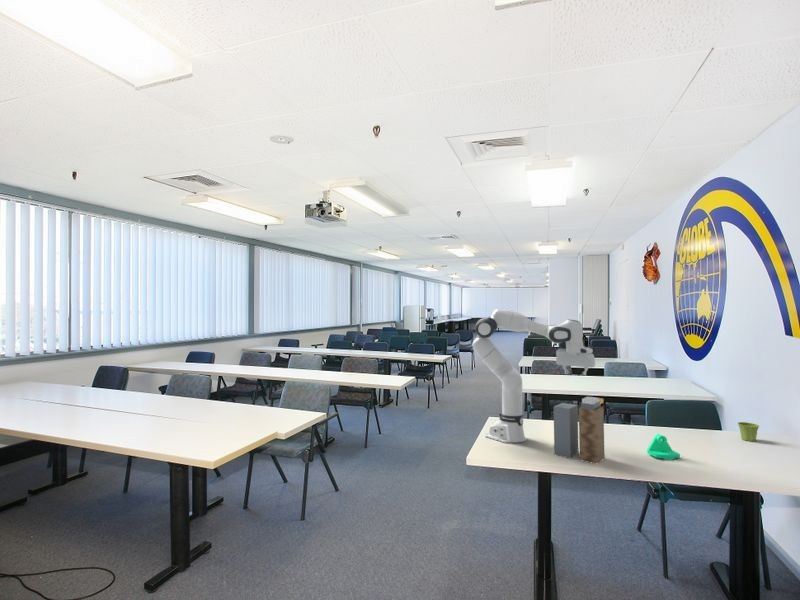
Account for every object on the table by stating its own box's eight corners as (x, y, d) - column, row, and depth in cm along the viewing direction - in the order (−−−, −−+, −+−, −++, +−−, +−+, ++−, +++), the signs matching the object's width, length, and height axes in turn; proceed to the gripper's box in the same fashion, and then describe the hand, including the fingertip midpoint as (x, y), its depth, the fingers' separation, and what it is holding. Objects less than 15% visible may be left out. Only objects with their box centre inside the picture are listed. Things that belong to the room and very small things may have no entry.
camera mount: (657, 460, 204) (656, 438, 204) (647, 454, 212) (646, 434, 212) (681, 459, 205) (680, 438, 205) (670, 454, 212) (669, 433, 212)
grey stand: (554, 454, 213) (553, 406, 214) (562, 448, 221) (562, 402, 222) (570, 457, 208) (569, 408, 208) (578, 452, 216) (577, 405, 216)
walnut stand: (579, 460, 205) (578, 408, 205) (587, 454, 213) (586, 404, 213) (597, 463, 199) (596, 410, 200) (604, 457, 207) (603, 406, 208)
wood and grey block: (580, 408, 205) (580, 399, 205) (594, 401, 219) (594, 393, 219) (593, 410, 201) (593, 400, 201) (606, 403, 215) (606, 394, 215)
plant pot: (753, 438, 237) (753, 422, 238) (763, 443, 228) (763, 427, 228) (734, 437, 240) (734, 421, 240) (743, 442, 231) (743, 426, 231)
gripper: (553, 348, 236) (554, 373, 236) (591, 350, 222) (592, 376, 222) (558, 347, 241) (559, 372, 241) (595, 349, 227) (596, 375, 226)
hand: (575, 374), depth 231 cm, fingers open, 8 cm apart
